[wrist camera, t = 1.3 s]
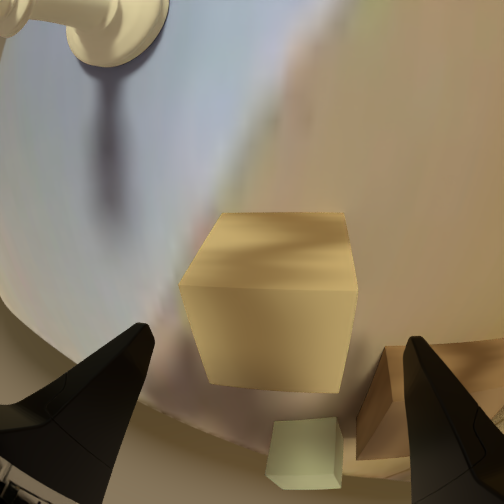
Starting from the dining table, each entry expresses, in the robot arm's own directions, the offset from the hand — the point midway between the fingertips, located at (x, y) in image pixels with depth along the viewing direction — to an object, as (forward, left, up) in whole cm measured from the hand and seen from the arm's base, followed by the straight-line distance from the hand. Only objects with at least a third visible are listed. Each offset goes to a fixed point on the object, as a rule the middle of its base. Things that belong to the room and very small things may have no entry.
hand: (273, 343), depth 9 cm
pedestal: (-10, +10, -5) cm, 15 cm away
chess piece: (+6, -12, -5) cm, 14 cm away
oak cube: (0, 0, -5) cm, 5 cm away
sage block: (-2, +17, -5) cm, 18 cm away
